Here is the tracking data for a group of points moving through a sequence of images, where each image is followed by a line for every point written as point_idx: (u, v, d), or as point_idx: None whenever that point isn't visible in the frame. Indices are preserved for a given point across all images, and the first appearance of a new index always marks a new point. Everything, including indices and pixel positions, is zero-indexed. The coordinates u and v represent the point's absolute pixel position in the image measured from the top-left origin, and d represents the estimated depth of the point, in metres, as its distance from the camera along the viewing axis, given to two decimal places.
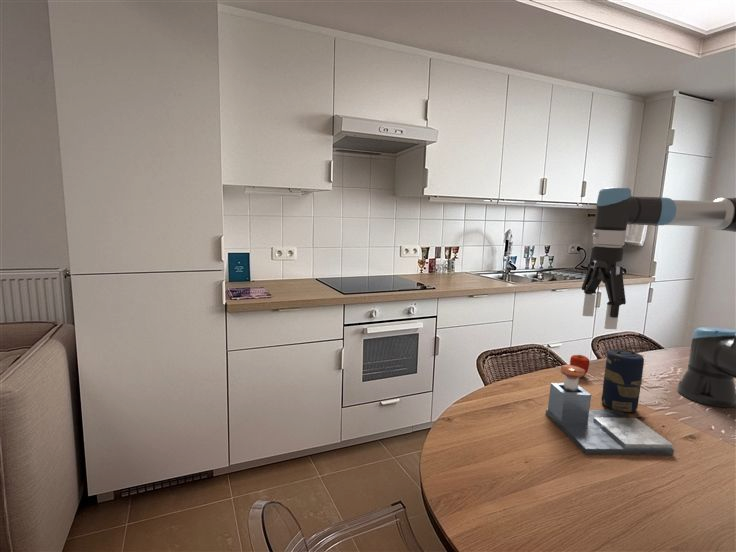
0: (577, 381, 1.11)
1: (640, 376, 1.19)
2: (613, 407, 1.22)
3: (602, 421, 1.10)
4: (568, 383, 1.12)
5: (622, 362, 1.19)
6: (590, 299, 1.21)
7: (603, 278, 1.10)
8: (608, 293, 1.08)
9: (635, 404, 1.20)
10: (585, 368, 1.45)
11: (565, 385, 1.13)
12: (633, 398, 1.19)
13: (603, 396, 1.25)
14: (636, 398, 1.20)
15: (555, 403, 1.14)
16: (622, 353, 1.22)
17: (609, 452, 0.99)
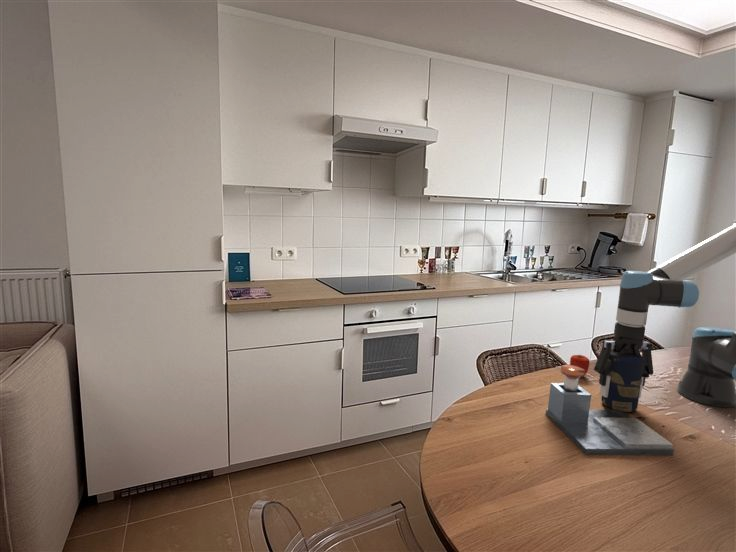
0: (577, 381, 1.11)
1: (639, 376, 1.19)
2: (613, 407, 1.22)
3: (602, 421, 1.10)
4: (568, 383, 1.12)
5: (622, 361, 1.19)
6: None
7: None
8: None
9: (635, 404, 1.20)
10: (585, 368, 1.45)
11: (565, 385, 1.13)
12: (633, 398, 1.19)
13: (603, 396, 1.25)
14: (636, 398, 1.20)
15: (555, 403, 1.14)
16: None
17: (609, 452, 0.99)
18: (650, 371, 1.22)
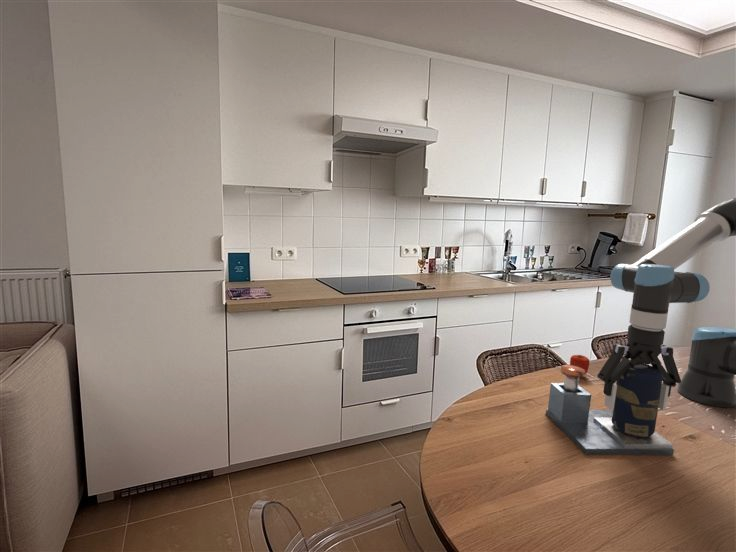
0: (577, 381, 1.11)
1: (658, 394, 1.00)
2: (626, 431, 1.03)
3: (602, 421, 1.10)
4: (568, 383, 1.12)
5: (636, 377, 1.00)
6: (661, 389, 1.05)
7: None
8: None
9: (652, 427, 1.02)
10: (585, 368, 1.45)
11: (565, 385, 1.13)
12: (650, 420, 1.01)
13: (614, 417, 1.07)
14: (653, 420, 1.01)
15: (555, 403, 1.14)
16: (636, 367, 1.04)
17: (609, 452, 0.99)
18: (677, 379, 1.03)
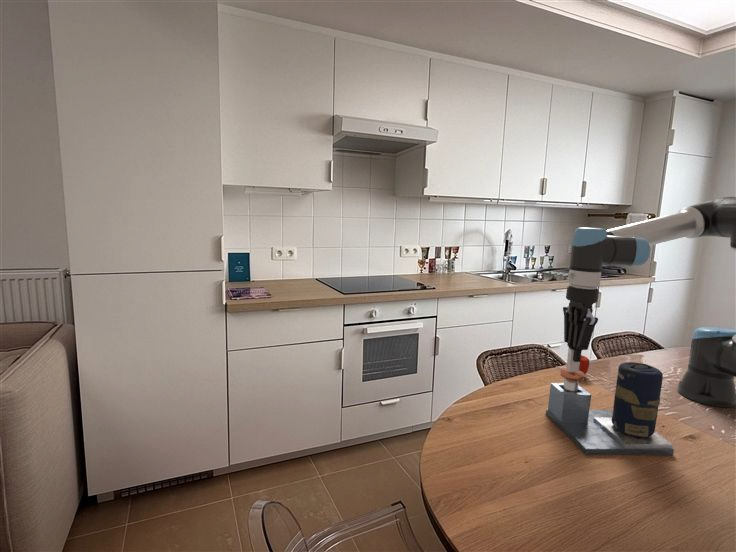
0: (577, 384, 1.11)
1: (658, 395, 1.00)
2: (626, 431, 1.03)
3: (602, 421, 1.10)
4: (567, 386, 1.12)
5: (637, 378, 1.00)
6: None
7: (575, 322, 1.09)
8: (574, 337, 1.10)
9: (652, 428, 1.02)
10: (585, 368, 1.45)
11: (565, 388, 1.13)
12: (650, 420, 1.01)
13: (614, 417, 1.07)
14: (653, 421, 1.01)
15: (555, 403, 1.14)
16: (636, 367, 1.04)
17: (609, 452, 0.99)
18: None
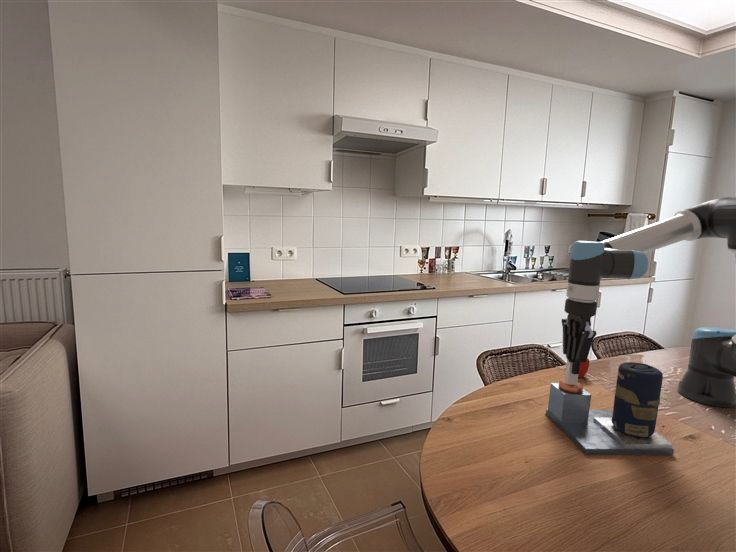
0: None
1: (658, 395, 1.00)
2: (626, 431, 1.03)
3: (602, 421, 1.10)
4: None
5: (637, 378, 1.00)
6: None
7: (574, 334, 1.09)
8: (573, 350, 1.10)
9: (652, 428, 1.02)
10: (585, 368, 1.45)
11: None
12: (650, 420, 1.01)
13: (614, 417, 1.07)
14: (653, 421, 1.01)
15: (555, 403, 1.14)
16: (636, 367, 1.04)
17: (609, 452, 0.99)
18: None
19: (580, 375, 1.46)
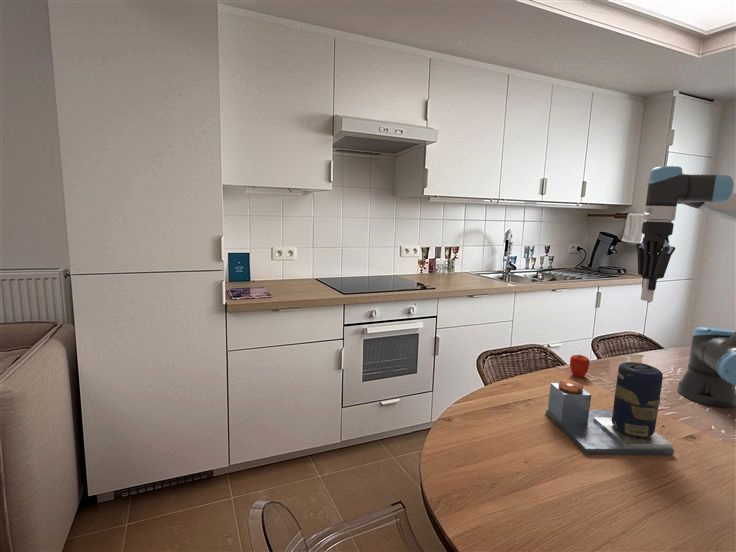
0: None
1: (658, 395, 1.00)
2: (626, 431, 1.03)
3: (602, 421, 1.10)
4: None
5: (637, 378, 1.00)
6: None
7: (652, 253, 1.20)
8: (650, 268, 1.21)
9: (652, 428, 1.02)
10: (585, 368, 1.45)
11: None
12: (650, 420, 1.01)
13: (614, 417, 1.07)
14: (653, 421, 1.01)
15: (555, 403, 1.14)
16: (636, 367, 1.04)
17: (609, 452, 0.99)
18: None
19: (580, 375, 1.46)
